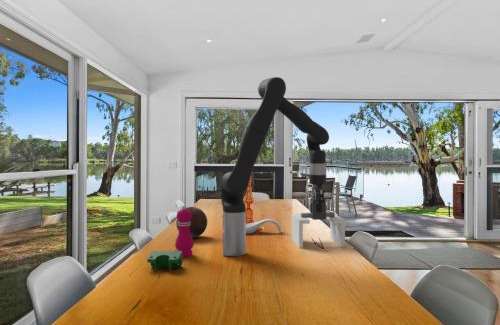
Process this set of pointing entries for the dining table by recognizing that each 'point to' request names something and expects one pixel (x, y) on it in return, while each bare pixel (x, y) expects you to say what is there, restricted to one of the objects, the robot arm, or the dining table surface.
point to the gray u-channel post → (314, 212)
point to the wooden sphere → (196, 222)
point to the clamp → (165, 259)
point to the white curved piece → (254, 226)
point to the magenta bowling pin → (184, 233)
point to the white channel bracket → (335, 228)
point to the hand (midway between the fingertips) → (317, 211)
